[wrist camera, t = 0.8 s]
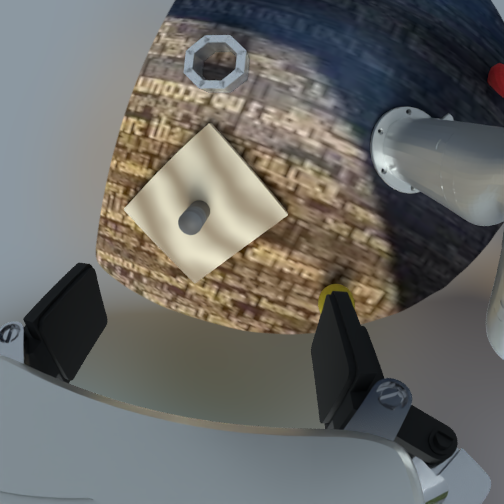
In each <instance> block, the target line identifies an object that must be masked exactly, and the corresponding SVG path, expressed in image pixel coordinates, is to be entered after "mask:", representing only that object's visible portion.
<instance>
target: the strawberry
mask: <svg viewBox="0 0 504 504" xmlns="http://www.w3.org/2000/svg"><path fill="white" fill-rule="evenodd" d="M487 81H488V84H489V85H490V86H491V87H492V88H493V89H494V90H495V91H496V92H497V93H498V94H499V95H501V96H502V97H503V98H504V64H501V63H499V64H496V65H495V66H493V67H492V68H491V69H490V72H489V74H488V79H487Z"/></svg>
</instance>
